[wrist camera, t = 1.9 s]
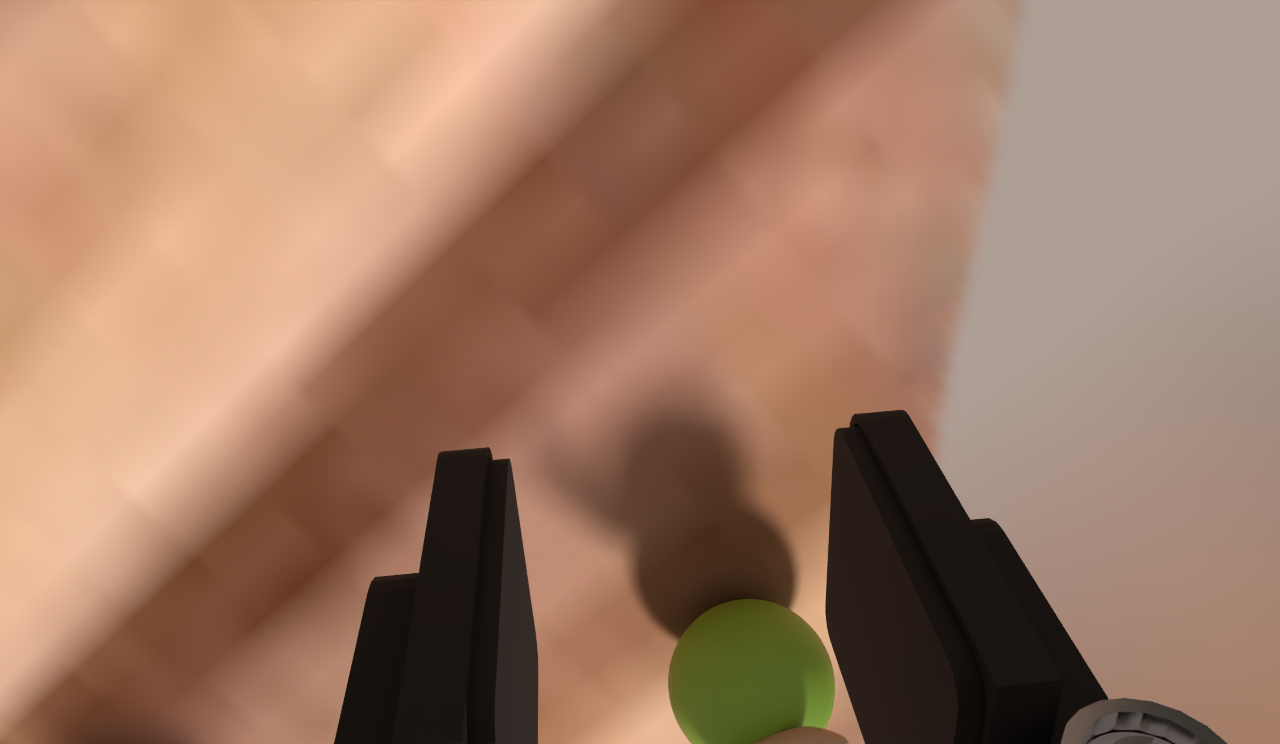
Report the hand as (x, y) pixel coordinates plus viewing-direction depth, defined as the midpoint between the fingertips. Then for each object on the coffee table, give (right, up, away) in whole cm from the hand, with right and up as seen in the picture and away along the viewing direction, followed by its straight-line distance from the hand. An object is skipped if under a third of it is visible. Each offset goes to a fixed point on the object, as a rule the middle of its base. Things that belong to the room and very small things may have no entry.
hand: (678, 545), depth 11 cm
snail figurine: (+3, -7, +25) cm, 26 cm away
